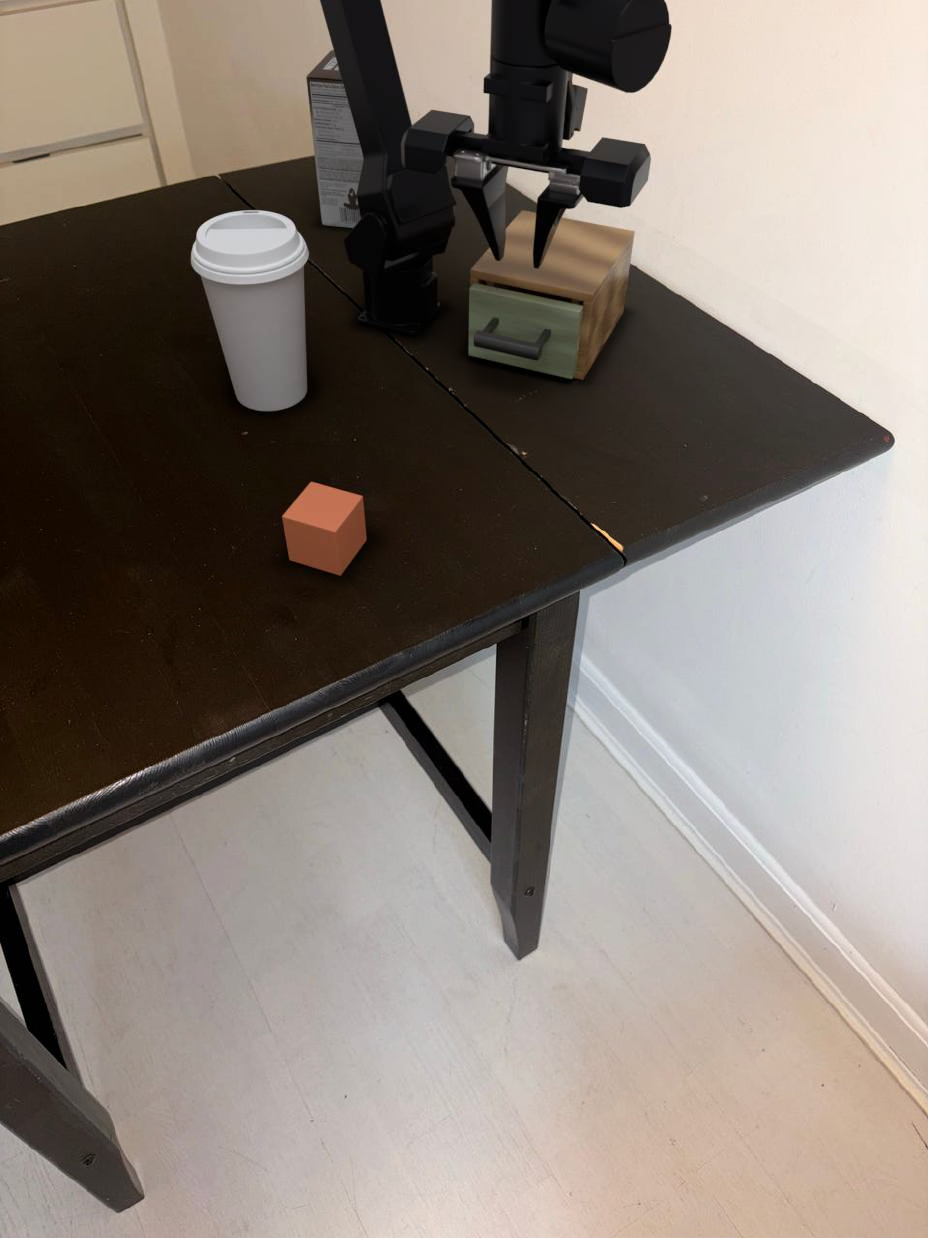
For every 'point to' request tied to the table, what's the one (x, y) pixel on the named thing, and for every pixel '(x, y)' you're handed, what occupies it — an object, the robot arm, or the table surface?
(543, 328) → the drawer
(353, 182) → the coffee box
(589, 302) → the cabinet
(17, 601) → the table surface
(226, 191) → the table surface
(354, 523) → the block
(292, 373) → the coffee cup
